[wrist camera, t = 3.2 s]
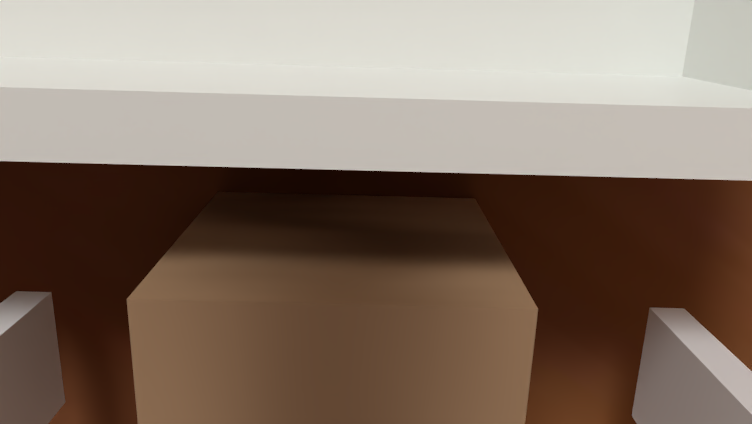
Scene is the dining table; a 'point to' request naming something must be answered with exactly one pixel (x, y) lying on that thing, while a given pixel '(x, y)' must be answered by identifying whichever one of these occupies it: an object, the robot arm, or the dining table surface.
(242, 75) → the tote
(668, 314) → the robot arm
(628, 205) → the dining table surface
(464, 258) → the walnut cube
